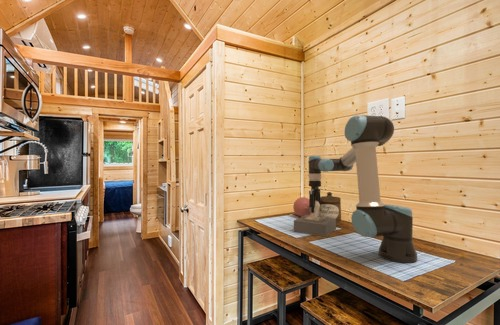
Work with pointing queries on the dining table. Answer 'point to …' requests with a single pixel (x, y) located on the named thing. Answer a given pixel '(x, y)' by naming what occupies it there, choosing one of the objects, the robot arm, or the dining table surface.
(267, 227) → the dining table surface
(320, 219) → the tan square tile
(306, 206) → the balloon
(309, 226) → the socket block
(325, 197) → the wooden container
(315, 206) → the lightbulb
